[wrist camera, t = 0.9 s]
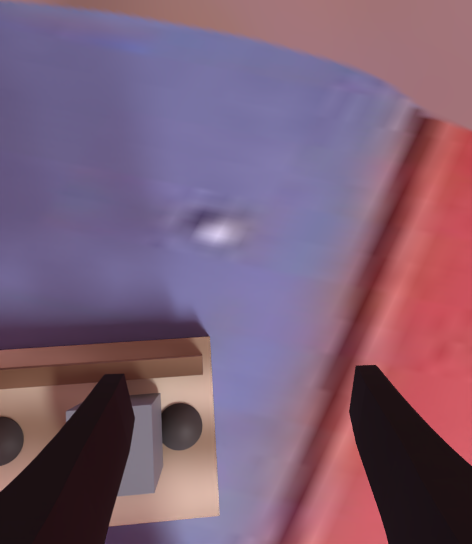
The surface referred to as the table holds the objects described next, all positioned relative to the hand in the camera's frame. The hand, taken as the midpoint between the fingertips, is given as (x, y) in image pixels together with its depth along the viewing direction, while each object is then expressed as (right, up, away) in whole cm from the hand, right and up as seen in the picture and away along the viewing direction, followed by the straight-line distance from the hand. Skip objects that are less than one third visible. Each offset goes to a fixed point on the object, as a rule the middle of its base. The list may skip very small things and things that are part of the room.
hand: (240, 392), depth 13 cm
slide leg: (-6, -5, +10) cm, 13 cm away
